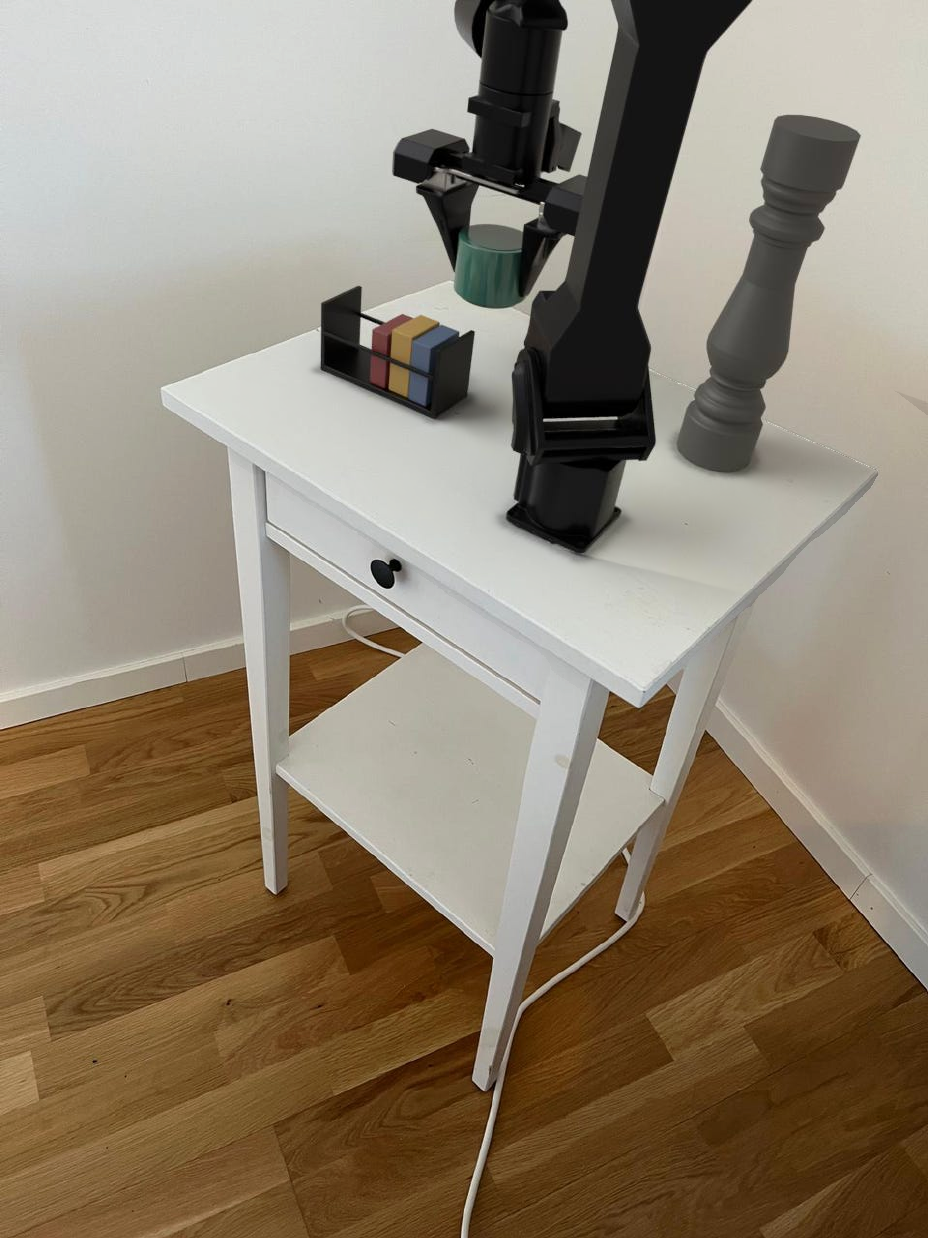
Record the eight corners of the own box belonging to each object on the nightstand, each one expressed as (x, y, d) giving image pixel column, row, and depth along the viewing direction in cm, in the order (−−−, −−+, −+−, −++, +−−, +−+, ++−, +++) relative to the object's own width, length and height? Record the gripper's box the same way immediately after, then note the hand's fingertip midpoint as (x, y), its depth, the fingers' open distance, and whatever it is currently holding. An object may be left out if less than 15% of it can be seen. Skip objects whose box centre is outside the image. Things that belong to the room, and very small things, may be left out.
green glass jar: (539, 296, 86) (548, 238, 83) (501, 318, 82) (509, 259, 79) (478, 273, 89) (485, 217, 85) (438, 294, 84) (444, 235, 81)
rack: (467, 396, 84) (475, 330, 80) (433, 419, 80) (440, 351, 76) (356, 349, 88) (358, 284, 84) (319, 369, 85) (320, 302, 81)
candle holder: (673, 461, 79) (770, 130, 63) (679, 425, 84) (771, 107, 67) (749, 478, 79) (867, 148, 62) (751, 440, 83) (862, 124, 67)
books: (453, 388, 84) (460, 329, 80) (425, 406, 81) (431, 345, 77) (398, 365, 86) (402, 306, 82) (369, 382, 83) (372, 322, 79)
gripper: (670, 97, 76) (627, 290, 87) (471, 44, 83) (453, 229, 93) (606, 122, 69) (567, 330, 79) (393, 61, 76) (383, 261, 86)
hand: (491, 283), depth 85 cm, fingers closed on green glass jar, 6 cm apart
